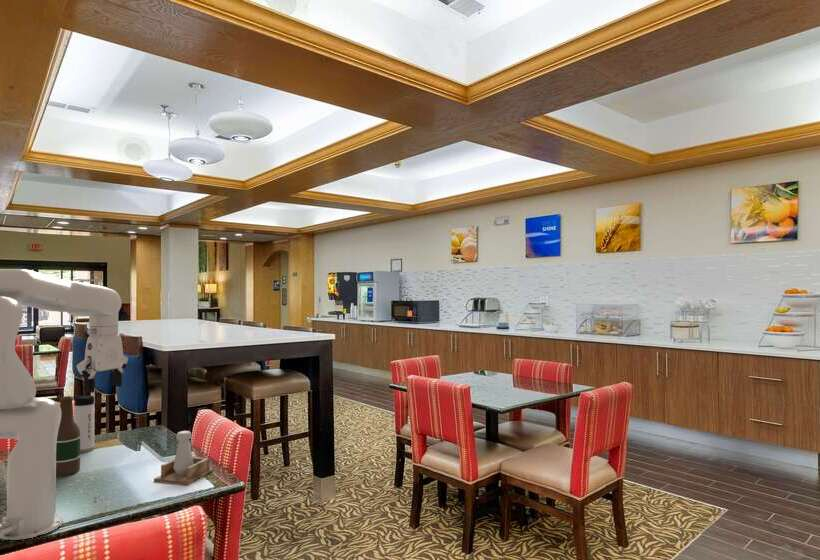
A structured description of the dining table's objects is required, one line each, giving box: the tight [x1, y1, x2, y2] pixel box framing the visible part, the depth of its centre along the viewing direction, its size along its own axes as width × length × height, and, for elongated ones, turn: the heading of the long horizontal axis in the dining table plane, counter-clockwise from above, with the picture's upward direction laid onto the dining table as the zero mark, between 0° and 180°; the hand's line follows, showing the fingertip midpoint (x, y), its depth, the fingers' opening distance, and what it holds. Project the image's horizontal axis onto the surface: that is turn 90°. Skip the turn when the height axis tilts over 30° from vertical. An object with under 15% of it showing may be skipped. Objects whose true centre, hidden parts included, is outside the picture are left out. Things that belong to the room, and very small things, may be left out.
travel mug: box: [72, 394, 95, 454], centre depth 187 cm, size 6×7×20 cm
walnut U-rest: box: [153, 456, 214, 486], centre depth 160 cm, size 12×12×4 cm
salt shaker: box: [173, 430, 194, 476], centre depth 160 cm, size 6×6×13 cm
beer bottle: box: [56, 395, 81, 478], centre depth 164 cm, size 8×8×24 cm
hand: (103, 389), depth 154 cm, fingers open, 9 cm apart
